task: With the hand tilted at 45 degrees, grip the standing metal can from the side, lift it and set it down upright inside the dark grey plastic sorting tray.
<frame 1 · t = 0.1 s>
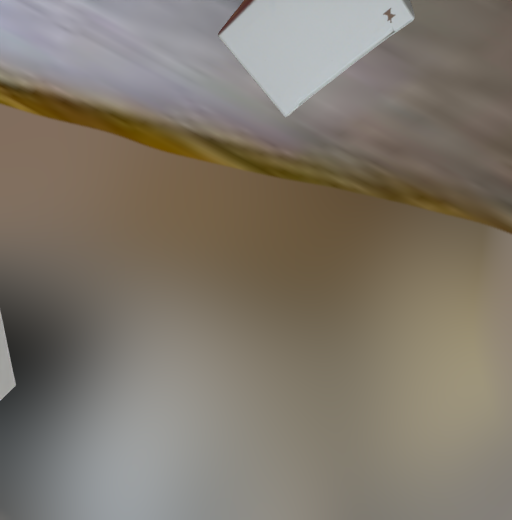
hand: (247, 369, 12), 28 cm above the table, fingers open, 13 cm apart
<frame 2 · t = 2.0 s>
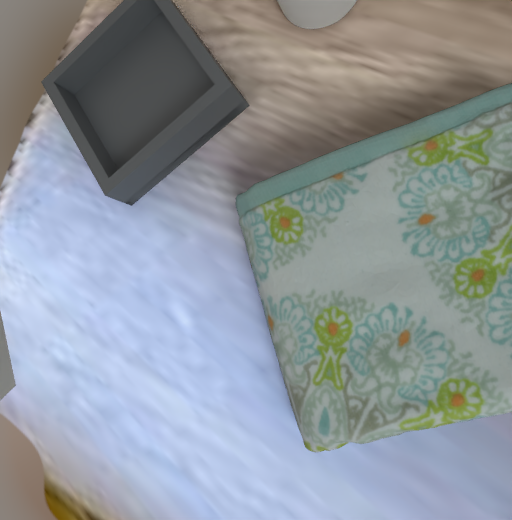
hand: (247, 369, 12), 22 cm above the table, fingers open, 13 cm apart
towel: (422, 276, 32), on the table
sorting tray: (152, 102, 41), on the table
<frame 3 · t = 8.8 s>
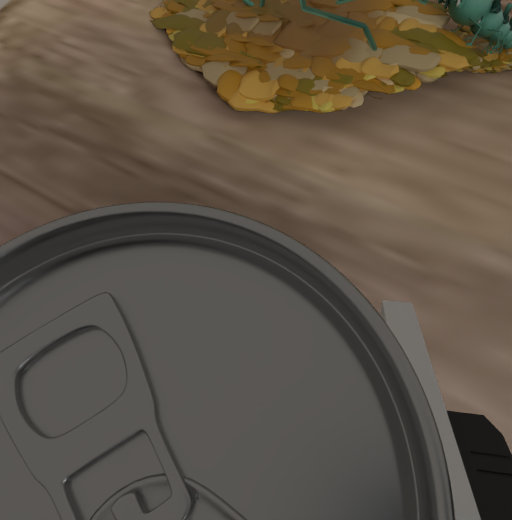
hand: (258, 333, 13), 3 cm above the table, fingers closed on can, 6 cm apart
frog figurine: (316, 57, 22), on the table
can: (254, 470, 15), on the table, touching gripper
when the fingers open (6 cm above the table, at t = 14.6 s): can drops 1 cm, resting on sorting tray.
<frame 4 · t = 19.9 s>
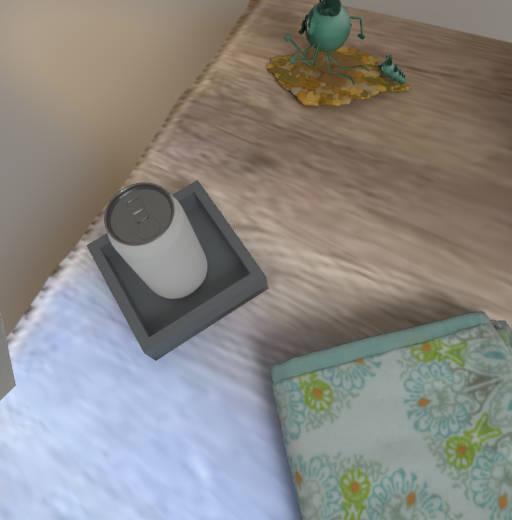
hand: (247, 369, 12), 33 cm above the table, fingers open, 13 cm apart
towel: (410, 444, 41), on the table
frog figurine: (333, 85, 57), on the table
sorting tray: (181, 273, 49), on the table
can: (177, 270, 48), point 1 cm above the table, touching sorting tray
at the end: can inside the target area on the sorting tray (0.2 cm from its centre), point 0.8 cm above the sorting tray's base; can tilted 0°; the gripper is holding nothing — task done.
